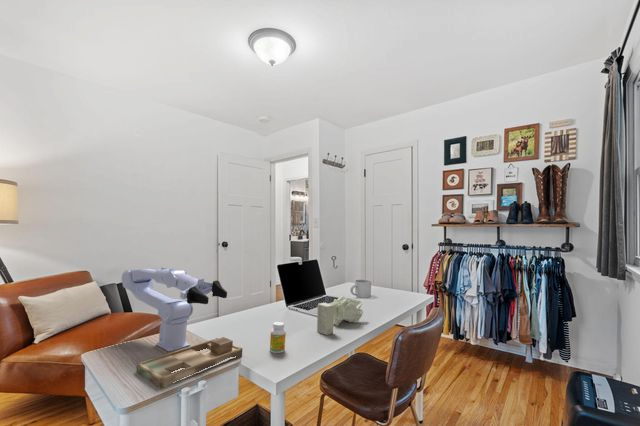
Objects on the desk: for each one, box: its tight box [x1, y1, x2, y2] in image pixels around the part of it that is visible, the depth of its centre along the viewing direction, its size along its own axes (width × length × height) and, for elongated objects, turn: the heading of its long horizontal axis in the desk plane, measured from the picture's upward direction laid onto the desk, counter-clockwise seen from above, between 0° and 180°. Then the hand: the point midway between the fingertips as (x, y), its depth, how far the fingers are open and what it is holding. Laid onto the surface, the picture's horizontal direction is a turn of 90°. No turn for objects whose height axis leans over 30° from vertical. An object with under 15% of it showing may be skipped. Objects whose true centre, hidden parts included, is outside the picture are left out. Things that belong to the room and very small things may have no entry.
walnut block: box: [210, 336, 234, 356], centre depth 103 cm, size 5×5×4 cm
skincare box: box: [316, 302, 334, 336], centre depth 133 cm, size 6×4×12 cm
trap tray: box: [135, 337, 244, 389], centre depth 97 cm, size 14×28×3 cm, turn 145°
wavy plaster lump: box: [331, 295, 364, 327], centre depth 148 cm, size 18×13×16 cm
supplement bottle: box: [269, 321, 287, 354], centre depth 111 cm, size 5×5×10 cm
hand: (217, 297), depth 101 cm, fingers open, 7 cm apart
